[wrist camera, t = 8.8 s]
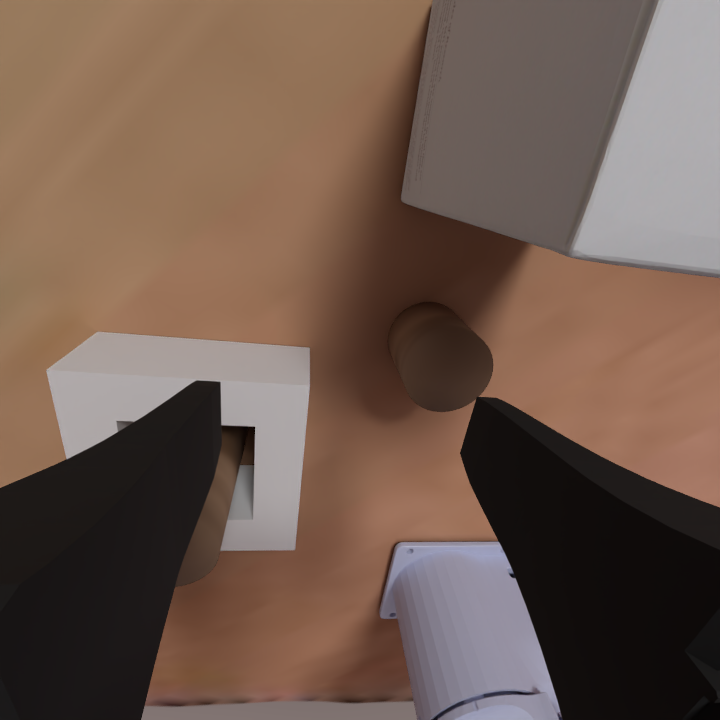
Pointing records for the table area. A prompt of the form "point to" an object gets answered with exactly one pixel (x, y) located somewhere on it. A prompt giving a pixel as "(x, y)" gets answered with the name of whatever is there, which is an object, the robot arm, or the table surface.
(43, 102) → the table surface
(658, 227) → the supplement box
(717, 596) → the robot arm
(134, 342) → the hole block
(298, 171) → the table surface
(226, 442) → the brown rounded cylinder
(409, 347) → the short pin
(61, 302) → the table surface
